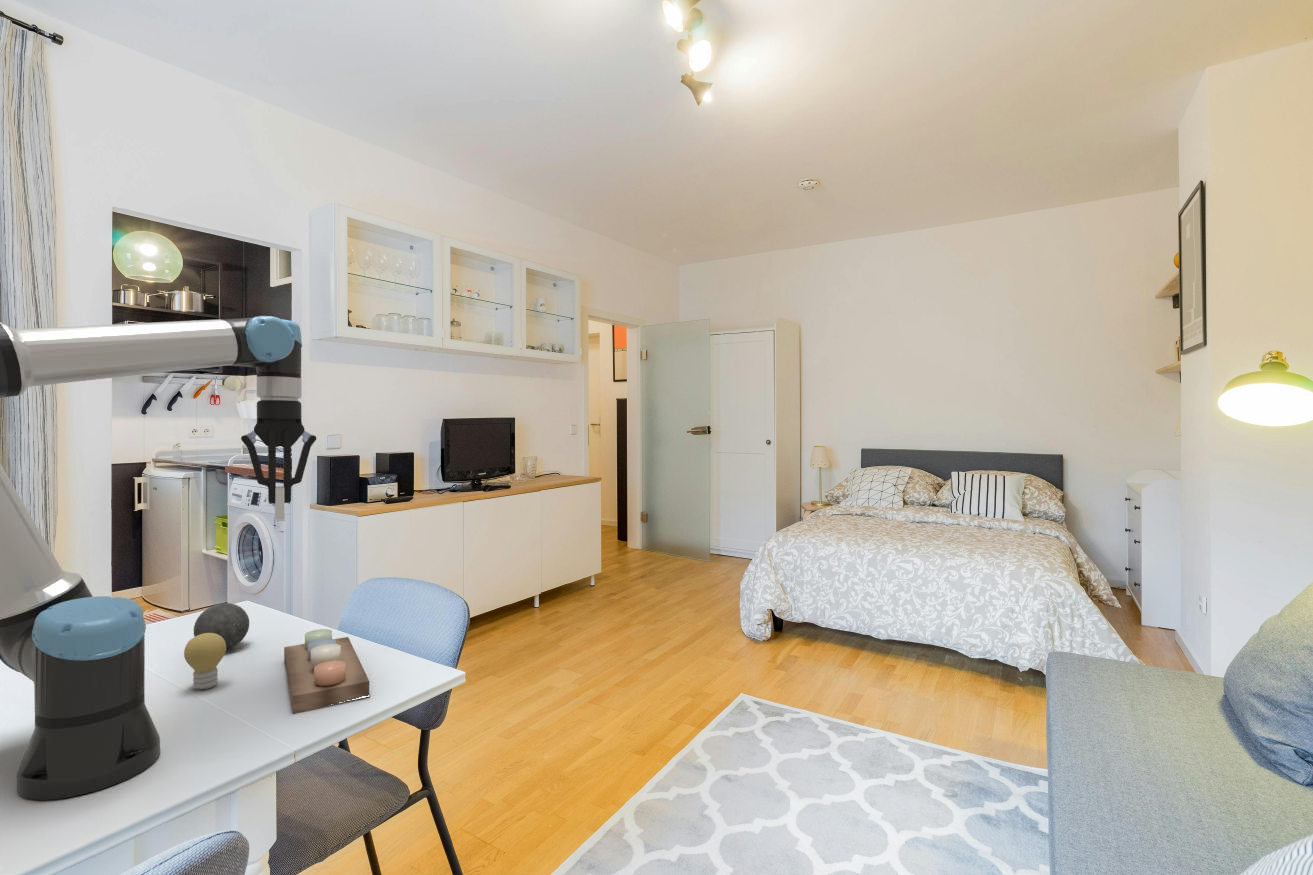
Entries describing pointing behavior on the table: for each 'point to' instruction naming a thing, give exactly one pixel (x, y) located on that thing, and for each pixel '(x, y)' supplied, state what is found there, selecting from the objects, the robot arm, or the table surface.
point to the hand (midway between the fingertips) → (279, 519)
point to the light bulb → (205, 658)
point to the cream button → (325, 653)
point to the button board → (316, 696)
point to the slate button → (319, 642)
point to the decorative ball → (224, 623)
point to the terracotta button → (329, 673)
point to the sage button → (317, 635)
